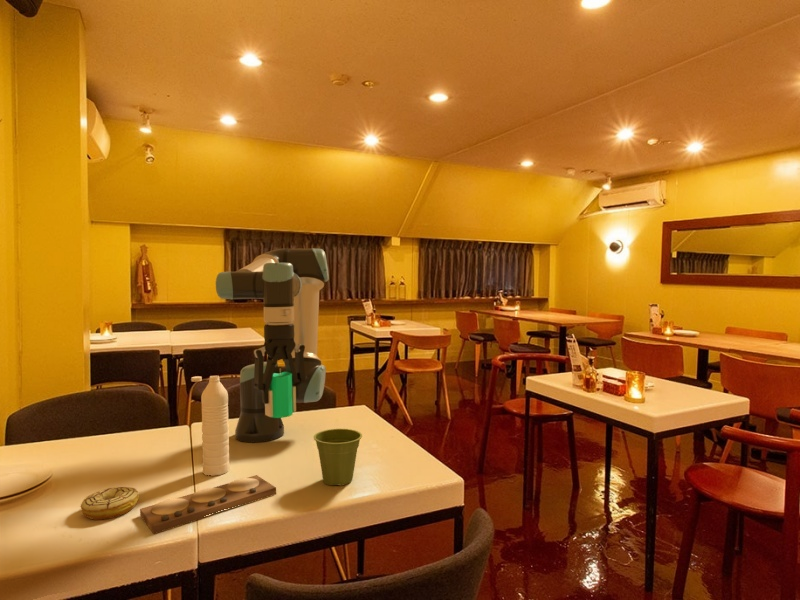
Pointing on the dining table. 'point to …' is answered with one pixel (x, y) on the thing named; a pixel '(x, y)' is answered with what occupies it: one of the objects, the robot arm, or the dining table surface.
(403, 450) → the dining table surface
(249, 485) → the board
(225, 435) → the water bottle
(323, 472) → the plant pot
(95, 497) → the decorated donut
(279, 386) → the candle
